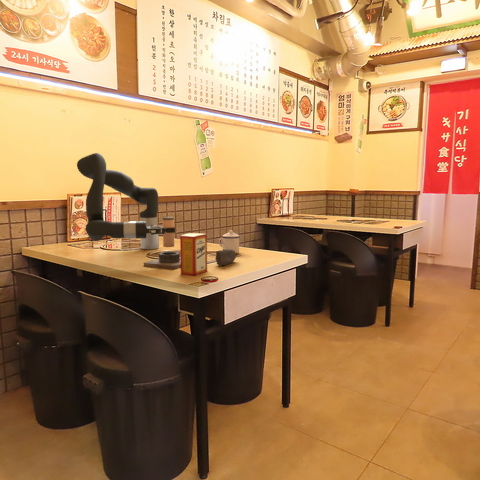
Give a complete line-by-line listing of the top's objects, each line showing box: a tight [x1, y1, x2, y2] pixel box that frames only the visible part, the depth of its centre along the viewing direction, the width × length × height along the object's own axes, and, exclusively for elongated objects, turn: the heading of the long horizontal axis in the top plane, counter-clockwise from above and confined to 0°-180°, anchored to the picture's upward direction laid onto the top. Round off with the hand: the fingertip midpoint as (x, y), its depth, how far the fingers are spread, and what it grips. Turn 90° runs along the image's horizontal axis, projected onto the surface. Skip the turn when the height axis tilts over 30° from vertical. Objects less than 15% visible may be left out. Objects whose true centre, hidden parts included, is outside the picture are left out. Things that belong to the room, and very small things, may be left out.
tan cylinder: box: [162, 216, 175, 248], centre depth 176 cm, size 5×5×13 cm
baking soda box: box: [179, 232, 208, 277], centre depth 161 cm, size 10×6×16 cm
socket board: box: [143, 251, 181, 271], centre depth 178 cm, size 16×16×5 cm
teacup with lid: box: [218, 229, 240, 254], centre depth 208 cm, size 12×9×12 cm
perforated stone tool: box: [214, 249, 237, 267], centre depth 179 cm, size 15×5×7 cm, turn 148°
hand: (174, 229), depth 176 cm, fingers closed on tan cylinder, 4 cm apart
